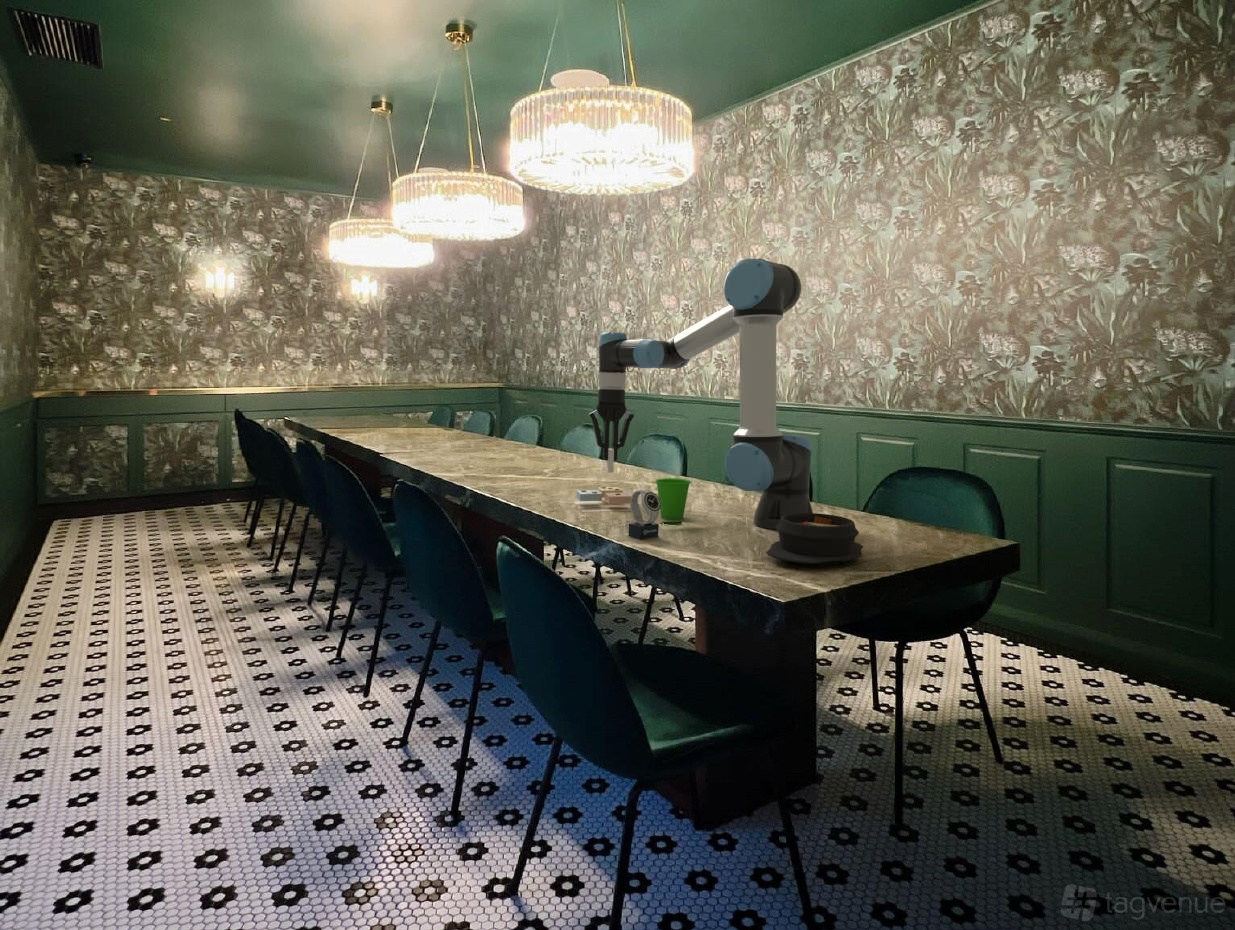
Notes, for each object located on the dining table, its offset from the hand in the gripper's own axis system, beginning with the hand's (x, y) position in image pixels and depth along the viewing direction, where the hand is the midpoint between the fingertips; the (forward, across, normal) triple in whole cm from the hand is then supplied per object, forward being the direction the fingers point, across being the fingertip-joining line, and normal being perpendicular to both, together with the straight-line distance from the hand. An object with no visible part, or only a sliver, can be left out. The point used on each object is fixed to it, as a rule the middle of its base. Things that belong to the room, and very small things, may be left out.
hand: (609, 471), depth 213 cm
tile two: (+7, +7, +5) cm, 11 cm away
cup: (+10, -11, +25) cm, 29 cm away
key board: (+10, +3, +5) cm, 12 cm away
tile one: (+7, 0, +10) cm, 12 cm away
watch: (+10, 0, +39) cm, 41 cm away
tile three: (+7, 0, 0) cm, 7 cm away
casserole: (+9, -31, +64) cm, 72 cm away
